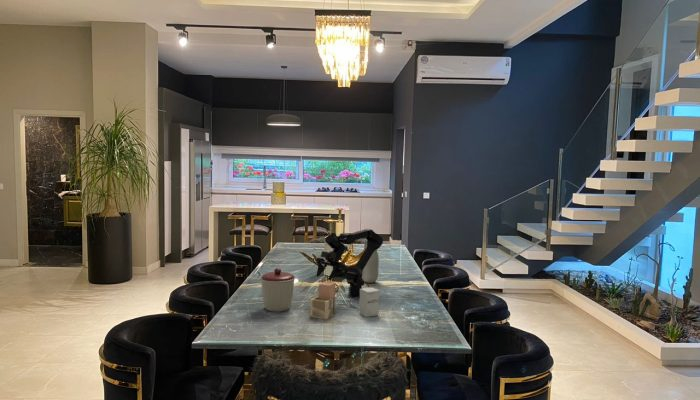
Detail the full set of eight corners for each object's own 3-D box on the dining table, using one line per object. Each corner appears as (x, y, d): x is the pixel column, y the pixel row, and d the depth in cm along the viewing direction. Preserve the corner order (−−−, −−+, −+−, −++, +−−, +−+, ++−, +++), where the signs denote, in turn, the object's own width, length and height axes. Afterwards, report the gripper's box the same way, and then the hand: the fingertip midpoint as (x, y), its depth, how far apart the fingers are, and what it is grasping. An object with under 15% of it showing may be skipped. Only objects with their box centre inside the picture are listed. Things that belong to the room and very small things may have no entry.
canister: (293, 302, 266) (293, 263, 264) (297, 313, 248) (297, 271, 247) (259, 304, 262) (259, 265, 260) (260, 315, 244) (260, 273, 243)
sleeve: (317, 312, 251) (317, 295, 250) (334, 314, 247) (334, 297, 246) (310, 316, 244) (310, 299, 243) (327, 319, 240) (327, 301, 239)
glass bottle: (371, 279, 318) (372, 236, 316) (381, 283, 310) (381, 238, 307) (358, 281, 313) (359, 237, 310) (368, 285, 304) (368, 239, 302)
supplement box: (366, 317, 243) (366, 292, 242) (359, 313, 250) (359, 288, 249) (379, 315, 247) (379, 290, 246) (371, 311, 253) (372, 286, 252)
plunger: (324, 308, 254) (324, 281, 252) (335, 310, 251) (335, 282, 250) (318, 311, 248) (319, 284, 247) (329, 313, 246) (329, 285, 245)
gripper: (317, 242, 271) (302, 266, 265) (341, 247, 258) (326, 272, 252) (328, 254, 278) (314, 277, 271) (352, 259, 265) (338, 284, 258)
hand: (322, 278), depth 263 cm, fingers open, 9 cm apart
